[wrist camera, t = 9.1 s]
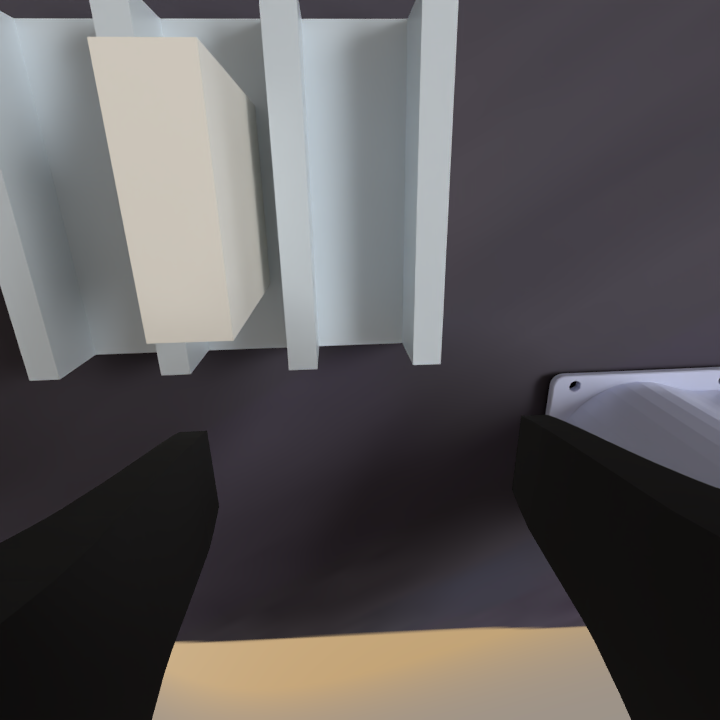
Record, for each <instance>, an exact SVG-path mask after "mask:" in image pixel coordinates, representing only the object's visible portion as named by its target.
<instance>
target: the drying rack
mask: <svg viewBox="0 0 720 720" xmlns="http://www.w3.org/2000/svg"><path fill="white" fill-rule="evenodd" d="M89 1H90V6H91V11H92V17H93V19H14V18H12V17H10V16H8V15H6V14H5V13H3V12H1V11H0V286H1V289H2V293H3V296H4V299H5V302H6V306H7V309H8V312H9V315H10V319H11V322H12V325H13V329H14V332H15V335H16V338H17V342H18V345H19V348H20V351H21V355H22V358H23V361H24V364H25V368H26V371H27V374H28V377H29V381H36V380H60V379H61V378H63V377H64V376H66V375H67V374H69V373H70V372H71V371H73V370H74V369H76V368H77V367H79V366H80V365H82V364H83V363H84V362H86V361H87V360H89V359H90V358H92V357H93V356H95V355H100V354H126V353H152V352H157V356H158V361H159V366H160V371H161V375H183V374H191V373H192V372H193V370H194V369H195V368H196V367H197V365H198V364H199V363H200V361H201V360H202V359H203V357H204V356H205V355H206V353H207V352H208V351H209V350H231V349H257V348H284V347H287V351H288V364H289V370H305V369H318V354H319V346H336V345H362V344H388V343H402V344H403V346H404V348H405V350H406V352H407V354H408V356H409V358H410V360H411V362H412V364H413V365H427V364H441V346H442V326H443V305H444V285H445V265H446V244H447V224H448V204H449V183H450V163H451V143H452V122H453V102H454V82H455V61H456V41H457V21H458V0H416V1H415V3H414V6H413V8H412V10H411V12H410V14H409V17H408V19H301V13H300V7H299V1H298V0H259V5H260V18H261V19H160V18H159V17H158V16H157V15H156V14H155V13H154V12H153V11H152V10H151V9H150V8H149V7H148V6H147V5H146V4H145V3H144V2H143V1H142V0H89ZM87 37H197V38H198V39H199V40H200V42H201V43H202V44H203V45H204V46H205V47H206V49H207V50H208V51H209V52H210V53H211V54H212V56H213V57H214V58H215V59H216V60H217V62H218V63H219V64H220V65H221V66H222V67H223V69H224V70H225V71H226V72H227V73H228V74H229V76H230V77H231V78H232V79H233V80H234V81H235V83H236V84H237V85H238V86H239V87H240V89H241V90H242V91H243V92H244V93H245V94H246V96H247V97H248V98H249V99H250V100H251V101H252V103H253V104H254V105H255V110H256V122H257V134H258V145H259V157H260V168H261V180H262V192H263V203H264V215H265V227H266V238H267V250H268V262H269V273H270V285H269V287H268V288H267V290H266V291H265V293H264V295H263V296H262V298H261V299H260V301H259V302H258V304H257V305H256V307H255V308H254V310H253V312H252V313H251V315H250V316H249V318H248V319H247V321H246V322H245V324H244V325H243V327H242V328H241V330H240V332H239V333H238V335H237V336H236V338H235V339H234V341H213V342H182V343H152V344H147V343H146V338H145V333H144V328H143V323H142V318H141V313H140V307H139V302H138V297H137V292H136V287H135V282H134V277H133V271H132V266H131V261H130V256H129V251H128V246H127V241H126V235H125V230H124V225H123V220H122V215H121V210H120V205H119V199H118V194H117V189H116V184H115V179H114V174H113V169H112V163H111V158H110V153H109V148H108V143H107V138H106V133H105V127H104V122H103V117H102V112H101V107H100V102H99V96H98V91H97V86H96V81H95V76H94V71H93V66H92V60H91V55H90V50H89V45H88V40H87Z"/></svg>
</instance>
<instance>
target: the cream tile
mask: <svg viewBox="0 0 720 720" xmlns="http://www.w3.org/2000/svg"><path fill="white" fill-rule="evenodd" d="M87 40H88V45H89V50H90V55H91V60H92V66H93V71H94V76H95V81H96V86H97V91H98V96H99V102H100V107H101V112H102V117H103V122H104V127H105V133H106V138H107V143H108V148H109V153H110V158H111V163H112V169H113V174H114V179H115V184H116V189H117V194H118V199H119V205H120V210H121V215H122V220H123V225H124V230H125V235H126V241H127V246H128V251H129V256H130V261H131V266H132V271H133V277H134V282H135V287H136V292H137V297H138V302H139V307H140V313H141V318H142V323H143V328H144V333H145V338H146V343H147V344H152V343H182V342H213V341H234V339H235V338H236V336H237V335H238V333H239V332H240V330H241V328H242V327H243V325H244V324H245V322H246V321H247V319H248V318H249V316H250V315H251V313H252V312H253V310H254V308H255V307H256V305H257V304H258V302H259V301H260V299H261V298H262V296H263V295H264V293H265V291H266V290H267V288H268V287H269V285H270V273H269V262H268V250H267V238H266V227H265V215H264V203H263V192H262V180H261V168H260V157H259V145H258V134H257V122H256V110H255V105H254V104H253V103H252V101H251V100H250V99H249V98H248V97H247V96H246V94H245V93H244V92H243V91H242V90H241V89H240V87H239V86H238V85H237V84H236V83H235V81H234V80H233V79H232V78H231V77H230V76H229V74H228V73H227V72H226V71H225V70H224V69H223V67H222V66H221V65H220V64H219V63H218V62H217V60H216V59H215V58H214V57H213V56H212V54H211V53H210V52H209V51H208V50H207V49H206V47H205V46H204V45H203V44H202V43H201V42H200V40H199V39H198V38H197V37H87Z"/></svg>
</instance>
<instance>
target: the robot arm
mask: <svg viewBox="0 0 720 720" xmlns="http://www.w3.org/2000/svg"><path fill="white" fill-rule="evenodd" d="M719 378H720V367H705V368H681V369H658V370H635V371H611V372H588V373H564V374H558V375H556V376H555V377H553V379H552V380H551V382H550V386H549V393H548V400H547V407H546V413H545V415H532V416H521V423H520V431H519V439H518V447H517V455H516V463H515V471H514V479H513V487H512V490H513V493H514V495H515V498H516V500H517V503H518V505H519V508H520V510H521V512H522V515H523V517H524V519H525V521H526V524H527V526H528V528H529V530H530V532H531V533H532V535H533V537H534V539H535V540H536V542H537V544H538V545H539V547H540V549H541V551H542V552H543V554H544V556H545V557H546V559H547V561H548V562H549V564H550V566H551V567H552V569H553V571H554V572H555V574H556V576H557V577H558V579H559V581H560V582H561V584H562V586H563V587H564V589H565V591H566V592H567V594H568V596H569V597H570V599H571V601H572V602H573V604H574V606H575V607H576V609H577V611H578V612H579V614H580V616H581V617H582V619H583V621H584V623H585V625H586V626H587V628H588V630H589V632H590V634H591V636H592V637H593V639H594V641H595V643H596V645H597V647H598V649H599V651H600V653H601V656H602V657H603V660H604V662H605V664H606V666H607V668H608V670H609V672H610V674H611V677H612V679H613V681H614V683H615V685H616V687H617V689H618V691H619V693H620V695H621V698H622V700H623V702H624V704H625V707H626V709H627V711H628V713H629V716H630V718H631V720H720V380H719ZM574 381H576V385H575V386H574V387H572V388H569V386H570V384H571V383H572V382H574ZM218 508H219V503H218V497H217V491H216V485H215V478H214V472H213V466H212V460H211V453H210V447H209V441H208V435H207V431H197V432H179V433H177V434H175V435H174V436H172V437H170V438H169V439H167V440H166V441H164V442H162V443H161V444H159V445H158V446H157V447H155V448H154V449H152V450H151V451H149V452H148V453H146V454H145V455H143V456H142V457H141V458H139V459H138V460H136V461H135V462H133V463H132V464H130V465H129V466H127V467H126V468H125V469H123V470H122V471H120V472H119V473H117V474H116V475H114V476H113V477H111V478H110V479H108V480H107V481H105V482H104V483H102V484H101V485H99V486H97V487H96V488H94V489H93V490H91V491H90V492H88V493H86V494H85V495H83V496H82V497H80V498H78V499H77V500H75V501H74V502H72V503H71V504H69V505H67V506H66V507H64V508H63V509H61V510H59V511H58V512H56V513H54V514H53V515H51V516H49V517H47V518H46V519H44V520H42V521H40V522H39V523H37V524H35V525H33V526H31V527H30V528H28V529H26V530H24V531H22V532H20V533H18V534H16V535H15V536H13V537H11V538H9V539H7V540H5V541H3V542H1V543H0V720H152V716H153V713H154V710H155V706H156V702H157V698H158V694H159V691H160V687H161V684H162V679H163V676H164V673H165V669H166V667H167V663H168V661H169V657H170V654H171V651H172V648H173V646H174V643H175V640H176V638H177V635H178V632H179V630H180V627H181V624H182V622H183V619H184V616H185V614H186V611H187V608H188V606H189V603H190V600H191V597H192V595H193V592H194V589H195V587H196V584H197V581H198V579H199V576H200V573H201V570H202V568H203V565H204V562H205V559H206V557H207V554H208V551H209V548H210V544H211V540H212V536H213V532H214V527H215V523H216V518H217V513H218Z"/></svg>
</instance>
